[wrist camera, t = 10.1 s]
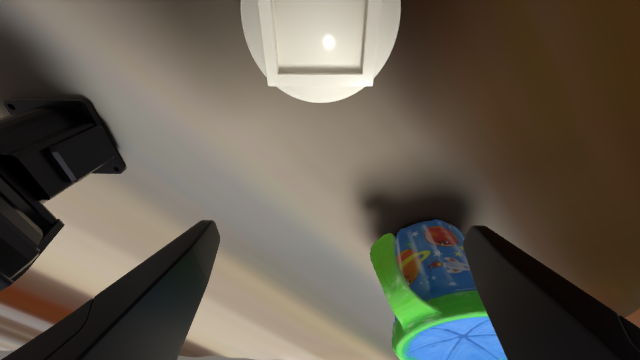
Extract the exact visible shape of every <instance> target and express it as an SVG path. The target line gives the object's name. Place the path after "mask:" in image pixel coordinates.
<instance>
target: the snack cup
mask: <svg viewBox="0 0 640 360" xmlns="http://www.w3.org/2000/svg"><path fill="white" fill-rule="evenodd" d="M464 239H465V235H464V234H463V233H462V232H461V231H460V230H459V229H458V228H457V227H455V226H453V225H451V224H448V223H445V222H444V221H442V220H437V219H434V220H432V221H424V222H419V223H416V224H413V225H411V226H409V227H406V228H402V229H400V231H399V232H398V233H397V236H396V237H394V235H393V234H392V233H388V234H385V235H383V236H382V237H381V238H379V239H378V240H377V241H376V242H375V243H374V245H373V246H372V248H371V252H370V257H371V261H372V264H373V266H374V269H375V271H376V274H377V276H378V279H379V281H380V283H381V286H382V288H383V291H384V293H385V296H386V298H387V300H388V303H389V305H390V306H391V308H392V310H393V312H394V314H395V322H394V325H393V337H392V347H393V350H394V352H395V354H396V355H397V356H398V357H399V359H400V360H507V358H506V355H505V353H504V351H503V349H502V346H501V344H500V342H499V340H498V337H497V335H496V333H495V330H494V328H493V326H492V324H491V321H490V319H489V317H488V315H487V312H486V310H485V308H484V306H483V303H482V301H481V299H480V296H479V294H478V292H477V289H476V286H475V283H474V280H473V277H472V274H471V271H470V268H469V265H468V262H467V259H466V255H465V252H464V249H463V241H464Z"/></svg>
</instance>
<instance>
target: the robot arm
mask: <svg viewBox="0 0 640 360" xmlns="http://www.w3.org/2000/svg"><path fill="white" fill-rule="evenodd" d="M4 105H5V107H6V108H7V110H8V111H9V112H10V114H11V115H10V116H7V117H4V118H1V119H0V291H1V290H3V289H5V288H6V287H8V286H10V285H11V284H12V283H13V282H14V281H16V280H17V279H18V278H19V277H21V276H22V275H23V274H24V273H25V272H26V271H27V270H28V269H29V268H30V266H31V265H32V264H33V263H34V262H35V260H36V259H37V258H38V257H39V255H40V254H41V253H42V252H43V251H44V249H45V248H46V247H47V246H48V244H49V243H50V242H51V241H52V240H53V238H54V237H55V236H56V235H57V233H58V232H59V231H60V230H61V229H62V227H63V226H64V223H63V222H62V221H61V220H60V219H56V218H55V216H54V215H53V214H52V213H51V212H50V211H49V210H48V209H47V208H46V207H45V206H44V205H43V203H45V202H46V201H48V200H50V199H52V198H53V197H55V196H56V195H58V194H59V193H61V192H62V191H64V190H65V189H67V188H68V187H70V186H71V185H73V184H74V183H76V182H78V181H80V180H81V179H83V178H84V177H86V176H87V175H89V174H90V173H103V174H120V173H122V172H123V171H125V169H126V168H125V166H124V164H123V162H122V160H121V158H120V157H119V155H118V153H117V151H116V149H115V147H114V146H113V144H112V142H111V140H110V138H109V136H108V135H107V133H106V131H105V129H104V127H103V125H102V124H101V122H100V120H99V118H98V116H97V114H96V113H95V111H94V109H93V107H92V105H91V104H90V103H89V102H88V101H86V100H84V99H10V100H6V101H4ZM82 105H83V106H84V107H83V106H82ZM219 243H220V235H219V232H218V229H217V226H216V224H215V222H214V221H213V220H202V221H200V222H198V223H197V224H196V225H194V226H193V227H191V228H190V229H189V230H187V231H186V232H184V233H183V234H182V235H180V236H179V237H177V238H176V239H175V240H173V241H172V242H170V243H169V244H168V245H166V246H165V247H163V248H162V249H161V250H159V251H158V252H156V253H155V254H154V255H152V256H151V257H149V258H148V259H147V260H145V261H144V262H142V263H141V264H140V265H138V266H137V267H135V268H134V269H133V270H131V271H130V272H128V273H127V274H126V275H124V276H123V277H121V278H120V279H119V280H117V281H116V282H114V283H113V284H112V285H110V286H109V287H107V288H106V289H105V290H103V291H102V292H100V293H99V294H98V295H96V296H95V297H94V299H91V300H89V301H88V302H86V303H85V304H84V305H82V306H81V307H79V308H78V309H77V310H75V311H74V312H72V313H71V314H69V315H68V316H67V317H65V318H64V319H62V320H61V321H59V322H58V323H56V324H55V325H54V326H52V327H51V328H49V329H48V330H46V331H45V332H43V333H41V334H40V335H38V336H37V337H35V338H34V339H32V340H31V341H29V342H28V343H26V344H25V345H23V346H22V347H20V348H19V349H17V350H15V351H14V352H12V353H11V354H9V355H8V356H7V357H5V358H3V359H2V360H177V359H178V356H179V354H180V351H181V349H182V346H183V344H184V341H185V339H186V336H187V334H188V331H189V329H190V326H191V324H192V321H193V319H194V316H195V314H196V312H197V309H198V307H199V304H200V302H201V299H202V297H203V294H204V292H205V289H206V287H207V284H208V281H209V278H210V275H211V271H212V268H213V264H214V261H215V257H216V254H217V250H218V247H219ZM463 249H464V252H465V255H466V259H467V262H468V265H469V268H470V271H471V274H472V277H473V280H474V283H475V286H476V289H477V292H478V294H479V296H480V299H481V301H482V303H483V306H484V308H485V310H486V312H487V315H488V317H489V319H490V321H491V324H492V326H493V328H494V330H495V333H496V335H497V337H498V340H499V342H500V344H501V346H502V349H503V351H504V353H505V355H506V358H507V360H640V328H639V327H637V326H636V325H634V324H633V323H631V322H630V321H628V320H627V319H625V318H624V317H622V316H618V314H617V313H616V312H615V311H613V310H612V309H610V308H609V307H607V306H606V305H604V304H602V303H601V302H599V301H598V300H596V299H595V298H593V297H592V296H590V295H589V294H587V293H586V292H584V291H583V290H581V289H580V288H578V287H577V286H575V285H574V284H572V283H571V282H569V281H568V280H566V279H565V278H563V277H562V276H560V275H559V274H557V273H556V272H554V271H553V270H551V269H550V268H548V267H547V266H545V265H543V264H542V263H540V262H539V261H537V260H536V259H534V258H533V257H531V256H530V255H528V254H527V253H525V252H524V251H522V250H521V249H519V248H518V247H516V246H515V245H513V244H512V243H510V242H509V241H507V240H506V239H504V238H503V237H501V236H500V235H498V234H497V233H495V232H494V231H492V230H491V229H489V228H487V227H486V226H471V227H470V228H469V230H468V232H467V234H466V236H465V239H464V241H463Z"/></svg>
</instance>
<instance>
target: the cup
mask: <svg viewBox="0 0 640 360" xmlns="http://www.w3.org/2000/svg"><path fill="white" fill-rule="evenodd" d="M400 13H401V0H241V19H242V26H243V31H244V36H245V39H246V42H247V45H248V48H249V50H250V52H251V54H252V57H253V58H254V60H255V62H256V64H257V65H258V67H259V68H260V70H261V71H262V72H263V74H264V75H265V76H266V77H267V81H268V86H276V87H278V88H279V89H280V90H282V91H283V92H285V93H286V94H288V95H290V96H292V97H294V98H297V99H300V100H303V101H308V102H315V103H327V102H333V101H338V100H341V99H344V98H347V97H349V96H351V95H353V94H355V93H357V92H358V91H360V90H361V89H363V88H364V87H365V86H373V79H374V78H375V76H376V75H377V74H378V73H379V71H380V70H381V69H382V67H383V66H384V64H385V63H386V61H387V59H388V57H389V55H390V53H391V51H392V49H393V46H394V43H395V40H396V37H397V33H398V28H399V23H400Z"/></svg>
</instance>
